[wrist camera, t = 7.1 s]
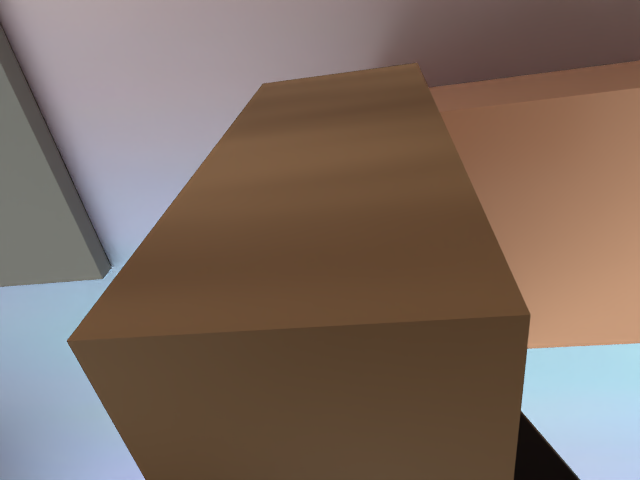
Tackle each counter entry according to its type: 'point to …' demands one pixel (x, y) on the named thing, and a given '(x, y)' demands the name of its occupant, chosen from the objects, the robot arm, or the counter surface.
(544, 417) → the counter surface
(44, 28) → the counter surface
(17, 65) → the mat
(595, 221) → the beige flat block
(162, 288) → the tan long block
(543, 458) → the robot arm
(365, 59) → the counter surface
